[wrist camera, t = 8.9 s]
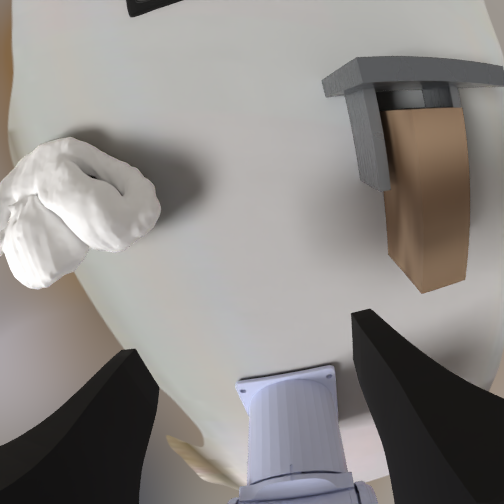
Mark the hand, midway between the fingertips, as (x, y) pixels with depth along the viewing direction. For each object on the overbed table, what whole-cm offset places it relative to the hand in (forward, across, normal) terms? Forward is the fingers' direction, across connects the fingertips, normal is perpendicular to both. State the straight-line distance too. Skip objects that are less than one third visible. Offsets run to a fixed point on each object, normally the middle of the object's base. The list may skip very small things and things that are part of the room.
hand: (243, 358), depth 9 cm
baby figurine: (+10, +10, -6) cm, 15 cm away
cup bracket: (+9, -10, -5) cm, 15 cm away
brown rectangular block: (+10, -10, -2) cm, 14 cm away
